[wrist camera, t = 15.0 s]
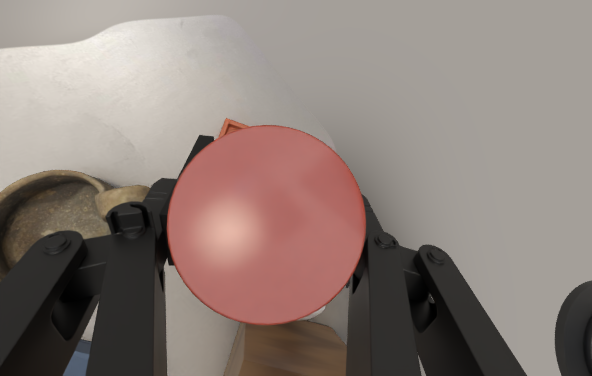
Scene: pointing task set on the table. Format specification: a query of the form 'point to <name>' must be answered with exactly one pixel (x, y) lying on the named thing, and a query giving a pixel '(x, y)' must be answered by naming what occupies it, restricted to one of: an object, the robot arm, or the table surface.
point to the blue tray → (79, 360)
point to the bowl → (56, 209)
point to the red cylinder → (266, 225)
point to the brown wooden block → (287, 351)
